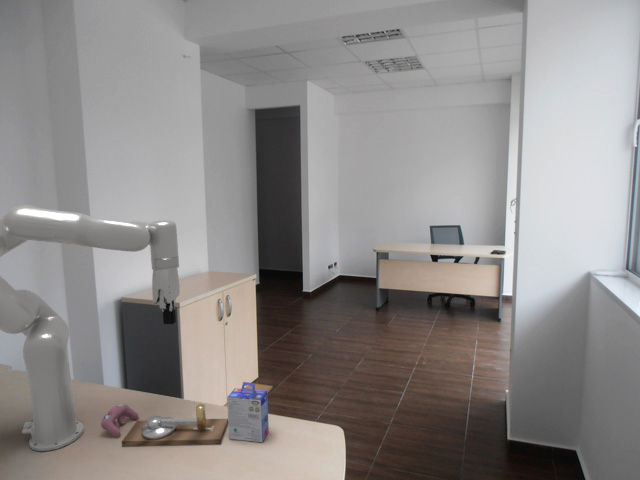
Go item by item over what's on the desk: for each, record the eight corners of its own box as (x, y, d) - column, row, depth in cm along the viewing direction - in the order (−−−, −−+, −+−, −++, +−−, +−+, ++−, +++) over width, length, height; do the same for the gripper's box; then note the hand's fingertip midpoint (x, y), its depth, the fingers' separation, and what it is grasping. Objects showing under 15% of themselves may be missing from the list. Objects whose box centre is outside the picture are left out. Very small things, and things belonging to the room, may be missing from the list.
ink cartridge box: (270, 431, 116) (267, 381, 114) (263, 443, 110) (261, 392, 108) (236, 427, 118) (233, 379, 115) (228, 439, 112) (225, 388, 110)
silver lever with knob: (135, 439, 110) (133, 415, 109) (150, 419, 119) (148, 397, 118) (200, 439, 110) (199, 415, 109) (211, 420, 118) (209, 397, 117)
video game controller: (129, 422, 124) (117, 402, 124) (141, 417, 123) (129, 396, 123) (107, 443, 114) (94, 421, 114) (119, 437, 113) (107, 415, 113)
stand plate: (122, 446, 110) (121, 441, 110) (137, 425, 120) (137, 420, 119) (220, 444, 110) (220, 438, 110) (228, 423, 120) (228, 418, 119)
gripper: (161, 258, 130) (166, 315, 132) (141, 268, 115) (147, 332, 117) (186, 258, 130) (190, 314, 132) (169, 268, 115) (173, 331, 117)
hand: (169, 323), depth 125 cm, fingers closed
